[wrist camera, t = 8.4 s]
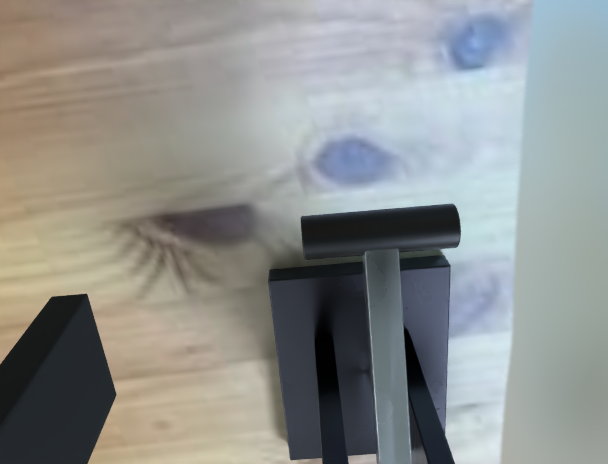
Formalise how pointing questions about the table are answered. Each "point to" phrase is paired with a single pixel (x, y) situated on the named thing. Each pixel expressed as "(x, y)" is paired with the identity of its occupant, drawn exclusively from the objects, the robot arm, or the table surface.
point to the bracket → (358, 358)
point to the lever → (384, 297)
